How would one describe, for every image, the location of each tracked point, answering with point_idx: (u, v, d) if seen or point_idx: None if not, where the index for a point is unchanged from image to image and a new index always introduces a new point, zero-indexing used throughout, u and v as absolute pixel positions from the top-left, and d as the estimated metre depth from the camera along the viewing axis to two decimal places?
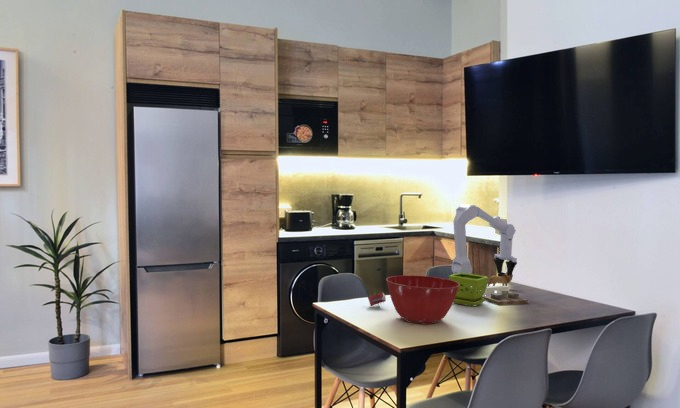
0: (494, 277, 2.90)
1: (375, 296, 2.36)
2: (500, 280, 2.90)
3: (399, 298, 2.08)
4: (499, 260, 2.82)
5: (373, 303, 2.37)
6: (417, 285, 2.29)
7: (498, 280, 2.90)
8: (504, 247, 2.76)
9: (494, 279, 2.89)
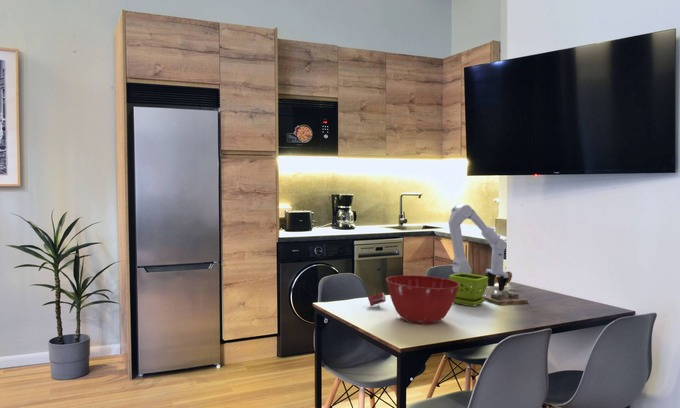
0: None
1: (375, 296, 2.36)
2: None
3: (399, 298, 2.08)
4: (491, 275, 2.76)
5: (373, 303, 2.37)
6: (417, 285, 2.29)
7: (497, 280, 2.90)
8: (495, 262, 2.70)
9: None
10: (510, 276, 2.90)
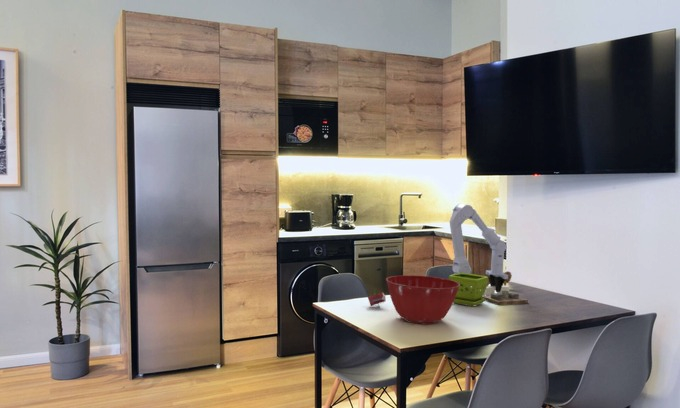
0: None
1: (375, 296, 2.36)
2: None
3: (399, 298, 2.08)
4: (493, 277, 2.74)
5: (373, 303, 2.37)
6: (417, 285, 2.29)
7: None
8: (495, 264, 2.70)
9: None
10: (509, 276, 2.90)
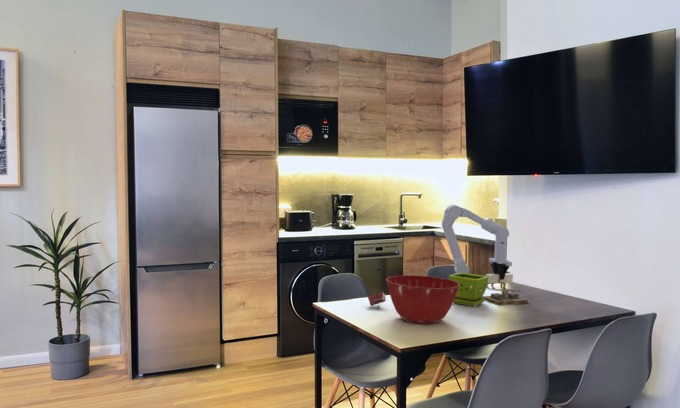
0: None
1: (375, 296, 2.36)
2: (498, 280, 2.90)
3: (399, 298, 2.08)
4: (496, 265, 2.69)
5: (373, 303, 2.37)
6: (417, 285, 2.29)
7: None
8: (499, 251, 2.65)
9: None
10: None
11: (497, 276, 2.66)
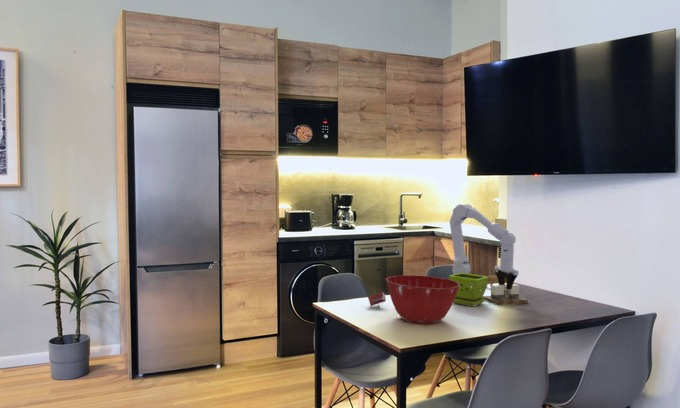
0: (491, 277, 2.89)
1: (375, 296, 2.36)
2: (497, 280, 2.89)
3: (399, 298, 2.08)
4: (501, 273, 2.60)
5: (373, 303, 2.37)
6: (417, 285, 2.29)
7: (495, 280, 2.90)
8: (505, 259, 2.55)
9: (491, 279, 2.89)
10: None
11: (503, 287, 2.56)
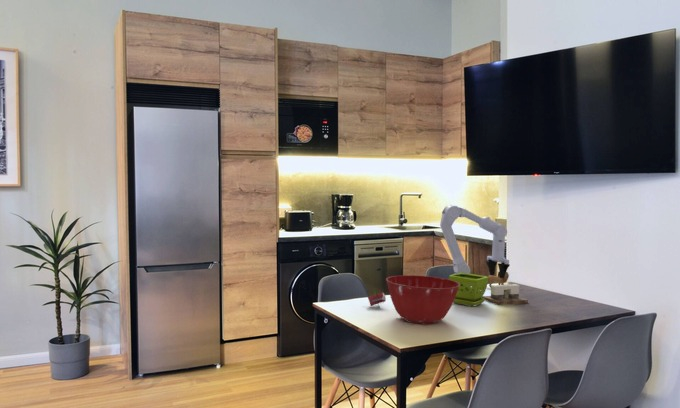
0: (490, 277, 2.89)
1: (375, 296, 2.36)
2: (496, 280, 2.89)
3: (399, 298, 2.08)
4: (492, 262, 2.73)
5: (373, 303, 2.37)
6: (417, 285, 2.29)
7: (494, 280, 2.90)
8: (496, 249, 2.68)
9: (490, 279, 2.89)
10: (507, 276, 2.90)
11: (503, 287, 2.56)
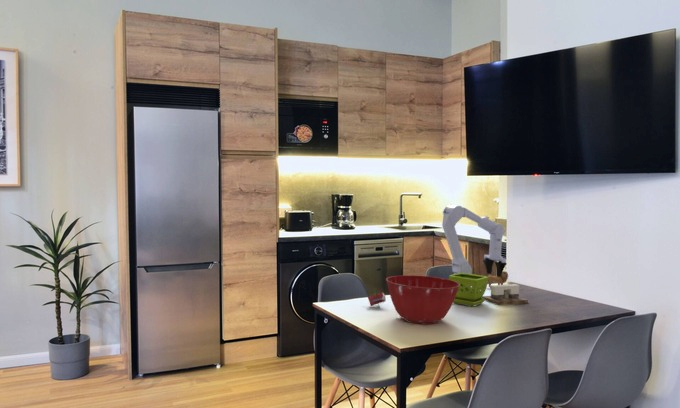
0: (490, 277, 2.89)
1: (375, 296, 2.36)
2: (496, 280, 2.89)
3: (399, 298, 2.08)
4: (489, 261, 2.78)
5: (373, 303, 2.37)
6: (417, 285, 2.29)
7: (494, 280, 2.90)
8: (493, 247, 2.72)
9: (490, 279, 2.89)
10: (506, 276, 2.90)
11: (503, 287, 2.56)
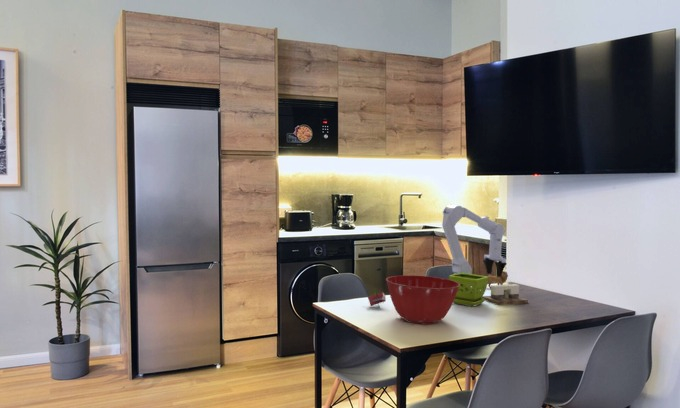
0: (489, 277, 2.89)
1: (375, 296, 2.36)
2: (495, 280, 2.89)
3: (399, 298, 2.08)
4: (489, 261, 2.78)
5: (373, 303, 2.37)
6: (417, 285, 2.29)
7: (493, 280, 2.89)
8: (493, 247, 2.72)
9: (490, 279, 2.89)
10: (506, 276, 2.90)
11: (503, 287, 2.56)
